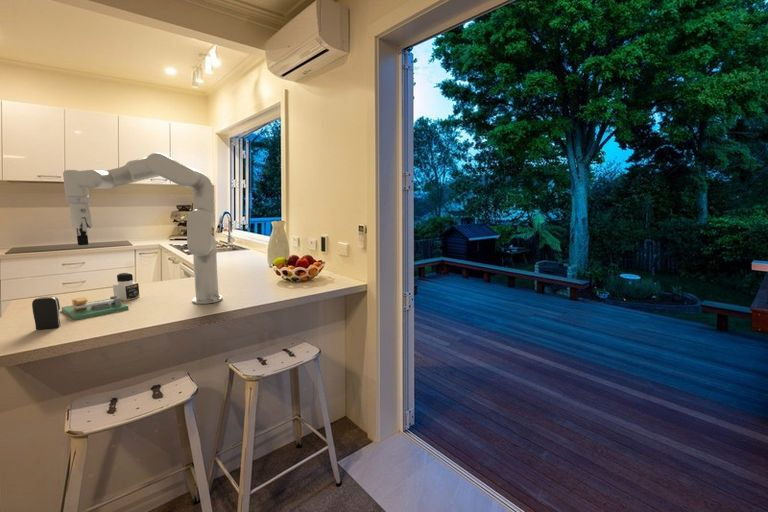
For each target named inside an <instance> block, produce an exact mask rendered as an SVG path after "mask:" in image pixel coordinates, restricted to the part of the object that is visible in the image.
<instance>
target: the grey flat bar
mask: <svg viewBox="0 0 768 512" xmlns="http://www.w3.org/2000/svg"><path fill="white" fill-rule="evenodd" d="M109 299H110V298H109ZM114 299H116V298H113V299H110V300H106V299H102V300H103V301H100V300H96V301H97V302H94V301H90V302H91V303H88V302H86V303H85V304H79V305H75V308H83V307H89V306H95V305H101V304H107V303H113V302H115V301H114Z"/></svg>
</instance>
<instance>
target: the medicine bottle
mask: <svg viewBox="0 0 768 512" xmlns="http://www.w3.org/2000/svg"><path fill="white" fill-rule="evenodd" d="M116 279H117V283H115V284H113V285H112V291H113V296H117V298H121V301H125V302H126V301H132V300H134V299H137V298H140V287H139V282H135V281H134V275H133V273H132V272H122V273H118V274H117V275H116Z"/></svg>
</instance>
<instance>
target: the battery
mask: <svg viewBox="0 0 768 512" xmlns="http://www.w3.org/2000/svg"><path fill="white" fill-rule="evenodd" d="M60 305H61V304H60V300H59V298H58V297H57V296H40V297H37V298H35V299H33V300H32V302H31V307H32V314H33V320H34V324H35V325H34V326H35V330H47V329H55V328H56V329H57V328H60V327H61V321H60V310H61V306H60Z"/></svg>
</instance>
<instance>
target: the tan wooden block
mask: <svg viewBox="0 0 768 512" xmlns="http://www.w3.org/2000/svg"><path fill="white" fill-rule="evenodd" d="M88 302H89V301H88V299H87V298H86V297H78V298H72V299H71V304H72V305H73V310H80V309H86V308H87V307H83V308H75V305H79V304H85V303H88Z"/></svg>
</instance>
